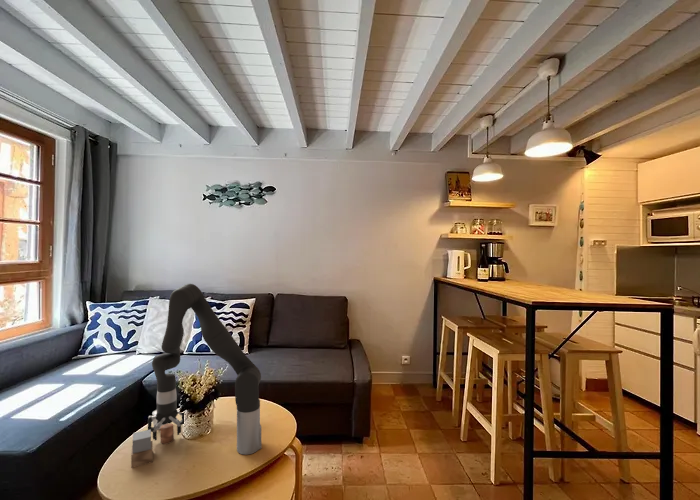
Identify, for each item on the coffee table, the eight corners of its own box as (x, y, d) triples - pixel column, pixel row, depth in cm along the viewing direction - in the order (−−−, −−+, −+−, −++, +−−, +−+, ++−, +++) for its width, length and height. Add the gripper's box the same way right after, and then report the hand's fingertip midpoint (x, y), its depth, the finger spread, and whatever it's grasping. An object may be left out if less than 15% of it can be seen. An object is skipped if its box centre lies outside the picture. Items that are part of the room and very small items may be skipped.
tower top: (150, 441, 144) (150, 429, 144) (150, 449, 138) (150, 436, 138) (133, 445, 141) (133, 433, 141) (132, 453, 136) (132, 440, 135)
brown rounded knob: (173, 436, 156) (172, 422, 156) (174, 441, 152) (173, 428, 152) (160, 439, 154) (159, 425, 153) (160, 445, 149) (160, 431, 149)
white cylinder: (162, 431, 160) (161, 415, 160) (148, 429, 161) (148, 414, 161) (172, 423, 167) (172, 408, 166) (159, 421, 168) (159, 407, 168)
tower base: (152, 452, 144) (152, 440, 144) (152, 462, 138) (152, 449, 138) (132, 457, 141) (132, 445, 141) (131, 468, 135) (131, 455, 135)
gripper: (184, 392, 159) (184, 428, 159) (147, 399, 152) (147, 436, 152) (185, 399, 152) (186, 436, 153) (147, 407, 145) (147, 446, 146)
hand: (167, 436), depth 153 cm, fingers open, 8 cm apart
